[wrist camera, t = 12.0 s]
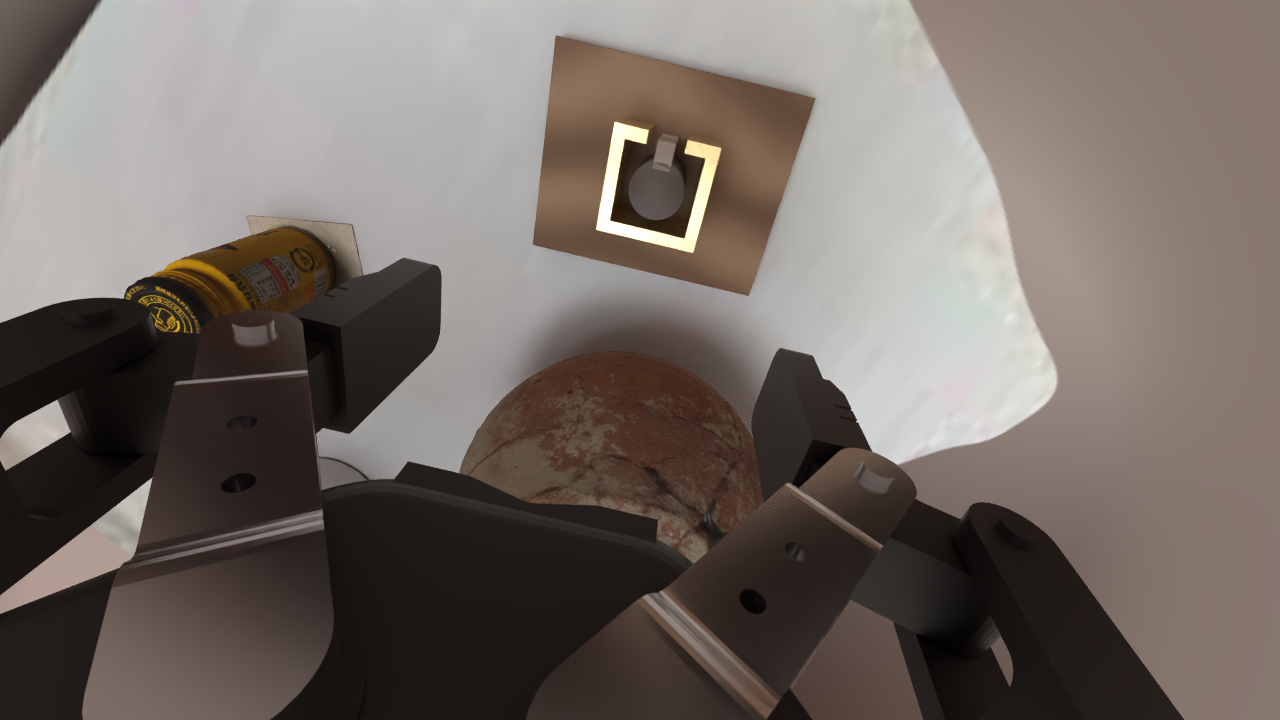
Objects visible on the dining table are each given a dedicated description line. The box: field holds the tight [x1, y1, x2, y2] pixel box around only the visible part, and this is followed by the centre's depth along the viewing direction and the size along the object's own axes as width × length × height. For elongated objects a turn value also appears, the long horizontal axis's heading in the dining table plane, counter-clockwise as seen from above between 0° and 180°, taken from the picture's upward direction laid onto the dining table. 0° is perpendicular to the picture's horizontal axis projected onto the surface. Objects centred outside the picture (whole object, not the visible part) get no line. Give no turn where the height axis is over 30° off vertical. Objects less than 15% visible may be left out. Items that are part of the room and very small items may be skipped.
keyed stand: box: [533, 36, 815, 296], centre depth 32 cm, size 13×16×6 cm
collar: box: [596, 117, 721, 253], centre depth 31 cm, size 6×6×5 cm
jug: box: [459, 351, 764, 563], centre depth 32 cm, size 22×22×30 cm
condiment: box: [124, 216, 363, 333], centre depth 36 cm, size 7×8×12 cm
